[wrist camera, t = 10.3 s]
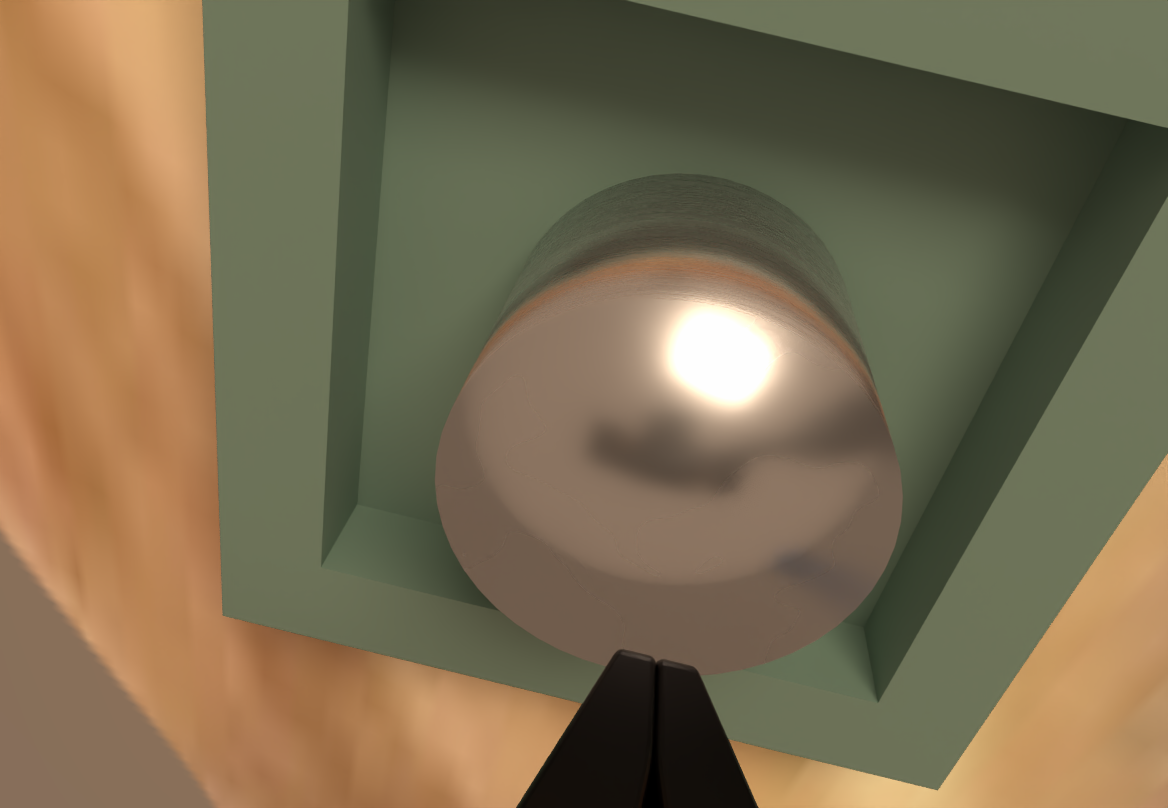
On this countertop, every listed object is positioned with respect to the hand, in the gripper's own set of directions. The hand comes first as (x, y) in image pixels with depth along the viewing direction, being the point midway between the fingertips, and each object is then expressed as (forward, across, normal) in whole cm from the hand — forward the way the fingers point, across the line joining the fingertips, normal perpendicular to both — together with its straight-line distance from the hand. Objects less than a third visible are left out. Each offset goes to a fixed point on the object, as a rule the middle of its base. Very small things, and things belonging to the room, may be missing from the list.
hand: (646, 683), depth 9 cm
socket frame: (+8, 0, 0) cm, 8 cm away
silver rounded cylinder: (+8, 0, 0) cm, 8 cm away
